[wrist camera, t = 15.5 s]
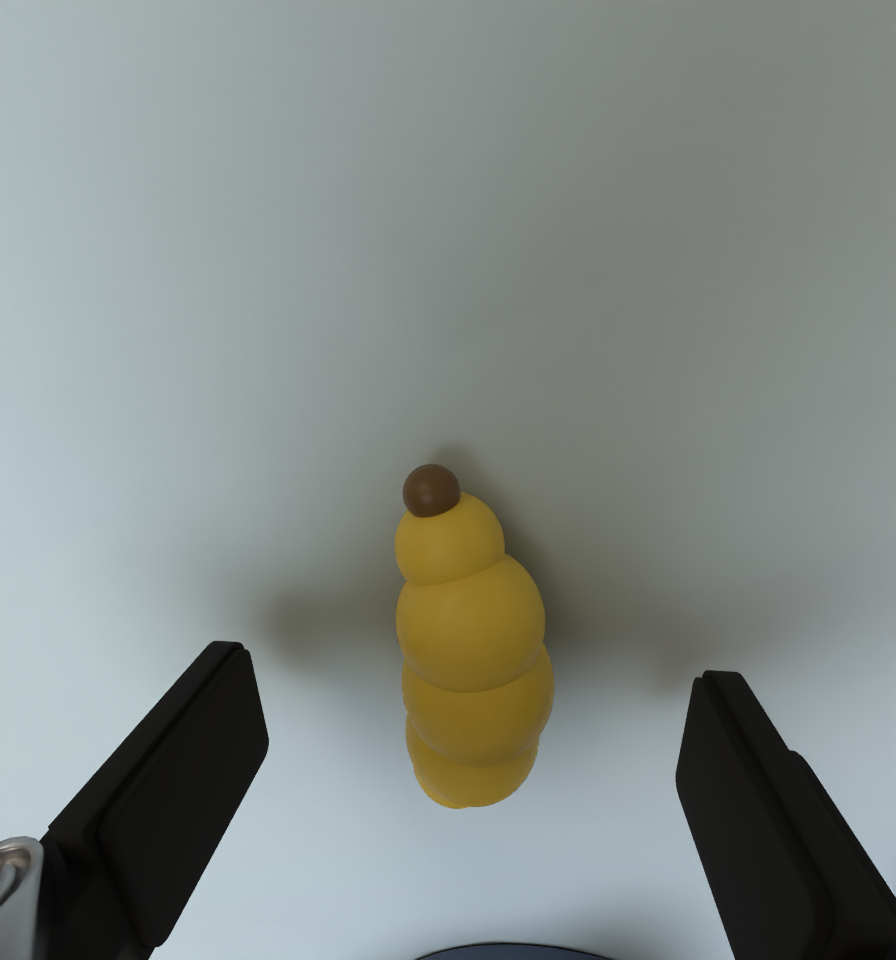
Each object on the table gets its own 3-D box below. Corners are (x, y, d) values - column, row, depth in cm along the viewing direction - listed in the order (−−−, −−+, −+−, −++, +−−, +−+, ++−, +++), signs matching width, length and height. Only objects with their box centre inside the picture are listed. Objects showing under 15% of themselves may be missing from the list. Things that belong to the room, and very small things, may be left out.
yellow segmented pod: (541, 761, 13) (550, 902, 10) (423, 751, 13) (398, 882, 10) (558, 446, 10) (579, 515, 7) (401, 446, 10) (355, 510, 7)
